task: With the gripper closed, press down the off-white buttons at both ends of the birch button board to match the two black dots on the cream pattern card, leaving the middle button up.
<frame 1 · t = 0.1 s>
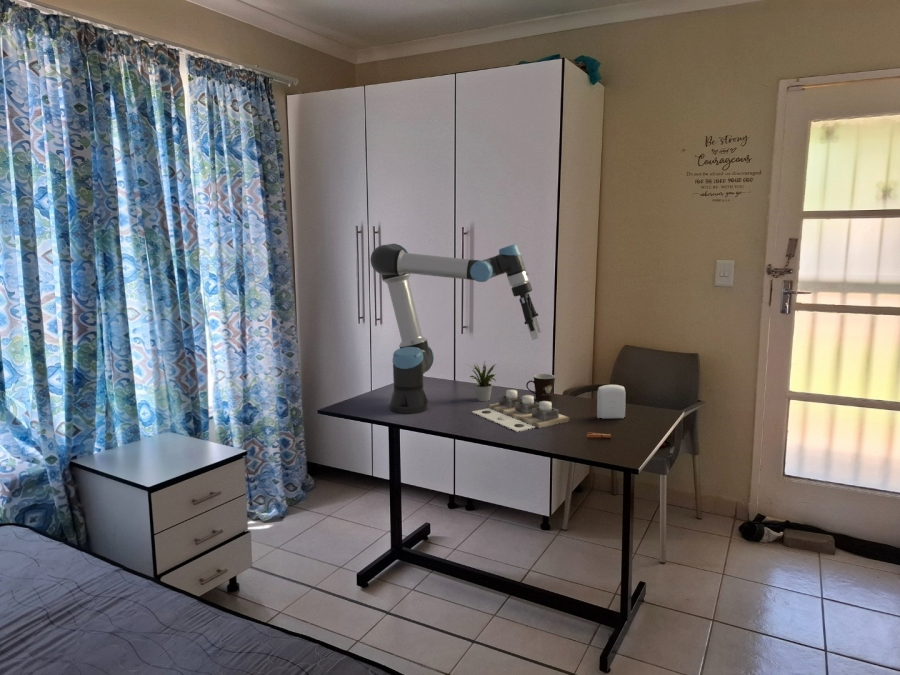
hand: (537, 335, 247), 28 cm above the table, tool tilted 20°, fingers open, 13 cm apart
button board: (527, 414, 239), on the table
photo printer: (610, 418, 234), on the table
button middle: (527, 401, 238), point 5 cm above the table, slide at 0.0 cm
button 2: (545, 407, 230), point 5 cm above the table, slide at 0.0 cm
house plant: (480, 400, 260), on the table
button 1: (511, 395, 246), point 5 cm above the table, slide at 0.0 cm
coffee mug: (540, 400, 259), on the table
pattern card: (502, 420, 233), on the table
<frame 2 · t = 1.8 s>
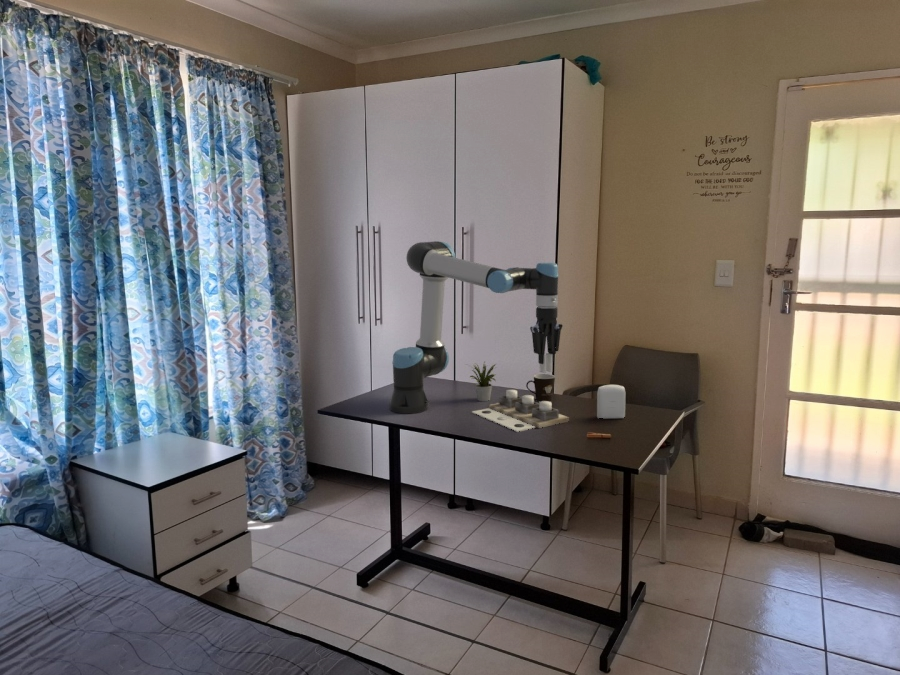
hand: (545, 371, 227), 18 cm above the table, tool pointing down, fingers open, 2 cm apart
nothing on the table moved.
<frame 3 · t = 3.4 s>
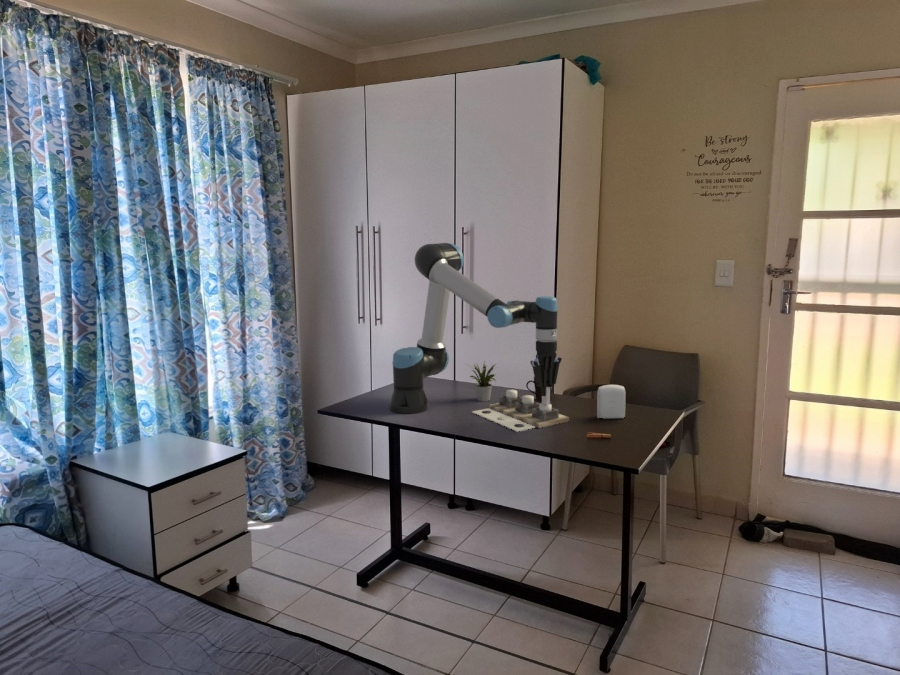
hand: (545, 404, 229), 6 cm above the table, tool pointing down, fingers closed
button 2: (545, 409, 230), point 4 cm above the table, slide at 0.8 cm, touching gripper
everything else where it was.
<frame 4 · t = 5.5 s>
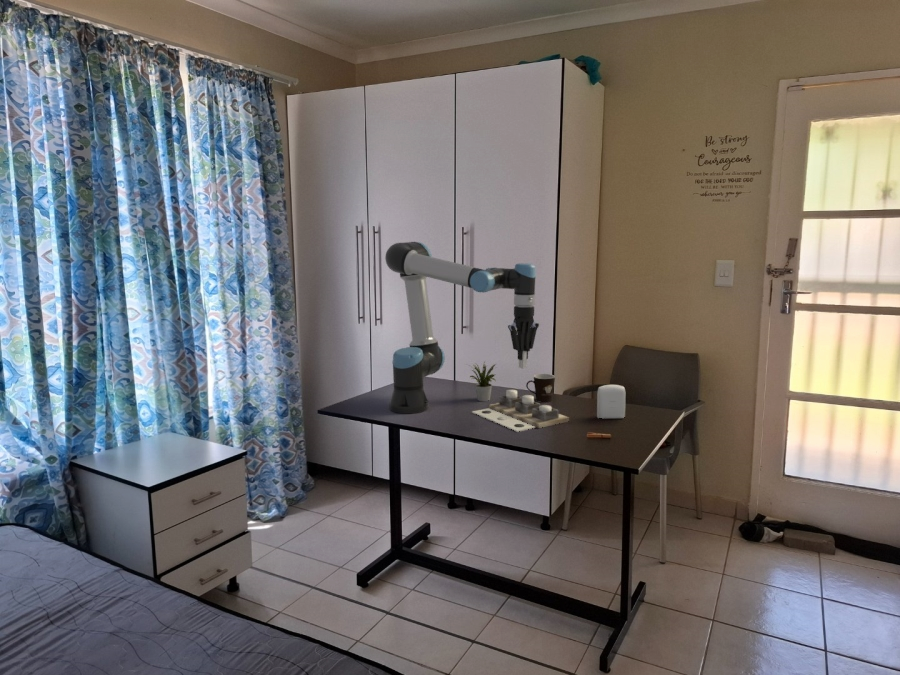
hand: (522, 367, 238), 18 cm above the table, tool pointing down, fingers closed
button 2: (545, 411, 230), point 4 cm above the table, slide at 1.5 cm
everything else where it was.
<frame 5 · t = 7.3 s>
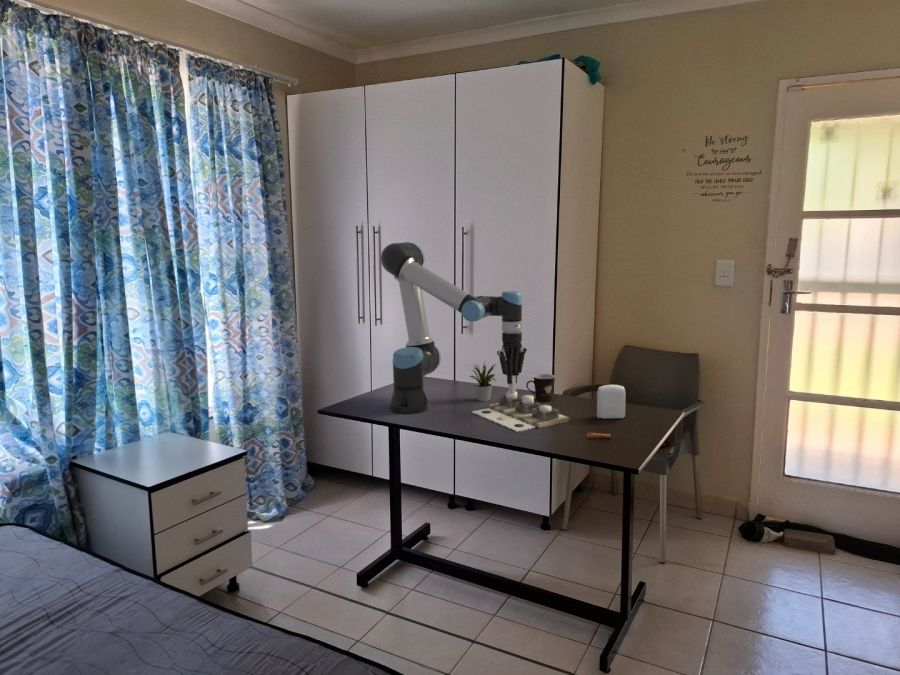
hand: (512, 391, 246), 7 cm above the table, tool pointing down, fingers closed
button 1: (511, 396, 246), point 5 cm above the table, slide at 0.5 cm, touching gripper
everything else where it was.
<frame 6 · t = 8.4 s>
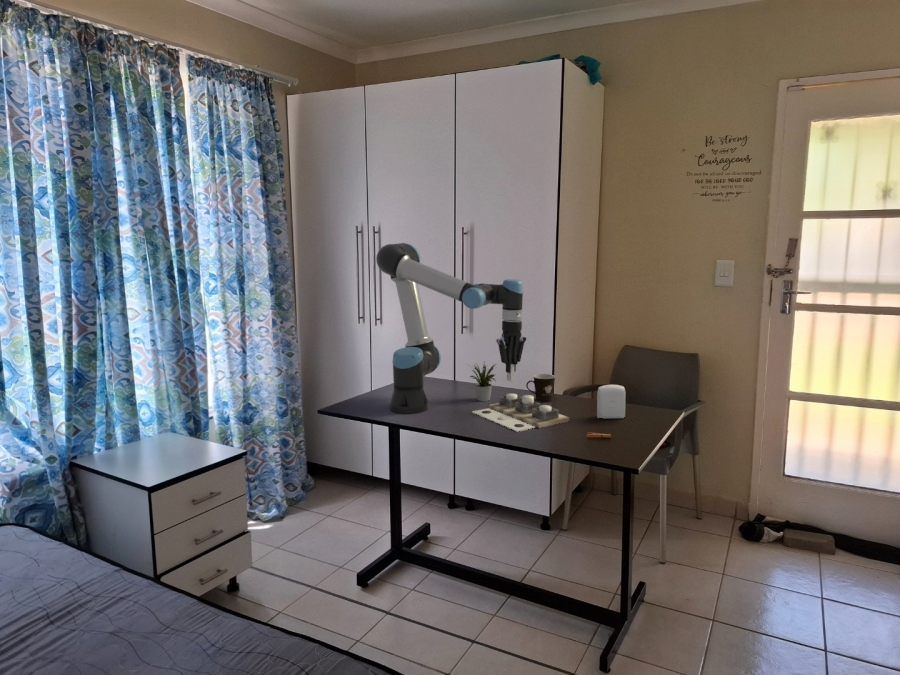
hand: (510, 380, 246), 11 cm above the table, tool pointing down, fingers closed
button 1: (511, 399, 247), point 4 cm above the table, slide at 1.6 cm
everything else where it was.
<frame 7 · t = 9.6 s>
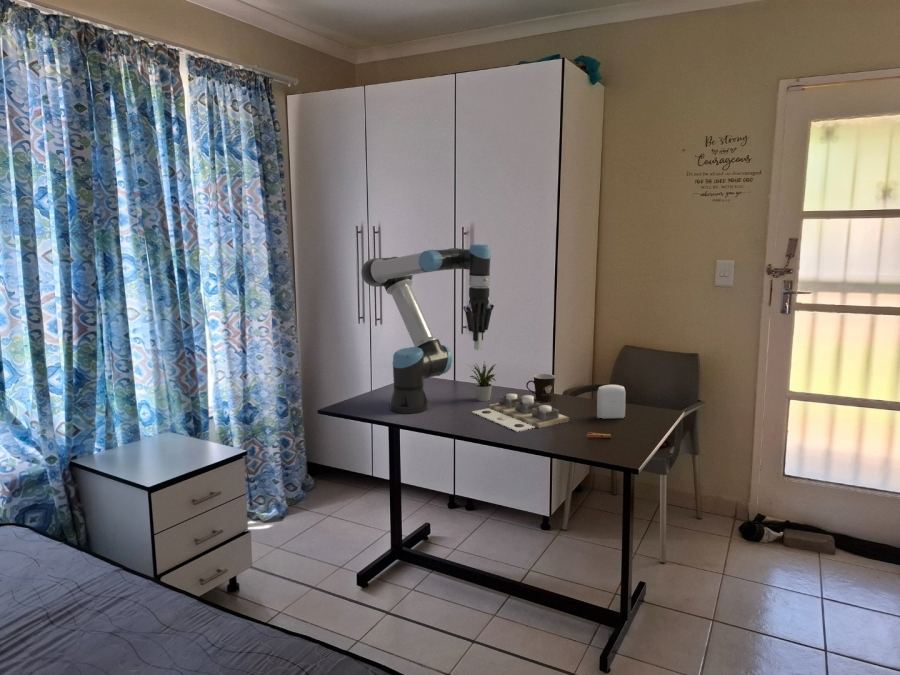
hand: (477, 349, 238), 25 cm above the table, tool pointing down, fingers closed
nothing on the table moved.
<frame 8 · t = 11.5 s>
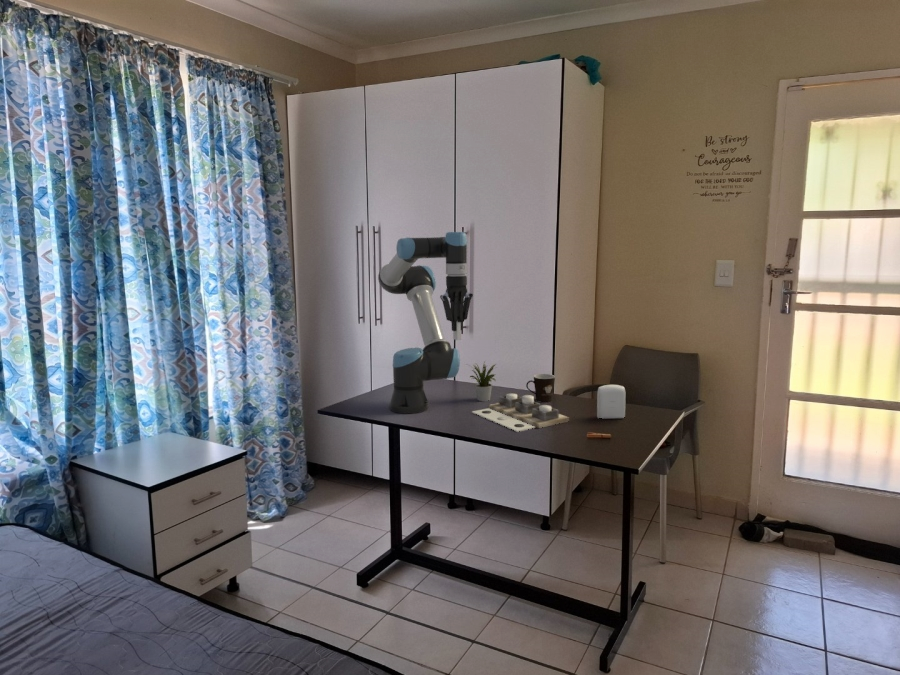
hand: (457, 339, 233), 29 cm above the table, tool pointing down, fingers closed
nothing on the table moved.
at the end: button 2 slide at 1.5 cm; button 1 slide at 1.6 cm; button middle slide at 0.0 cm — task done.
